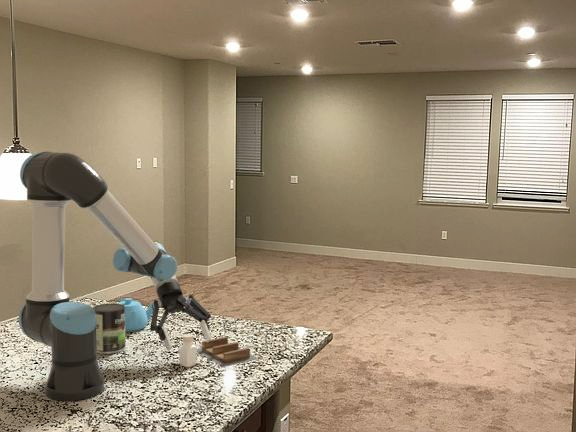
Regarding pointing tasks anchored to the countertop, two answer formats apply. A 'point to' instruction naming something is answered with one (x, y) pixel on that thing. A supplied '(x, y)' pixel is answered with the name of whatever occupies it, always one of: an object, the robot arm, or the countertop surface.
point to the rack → (225, 350)
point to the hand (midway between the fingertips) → (190, 344)
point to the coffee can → (110, 328)
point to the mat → (223, 362)
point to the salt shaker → (188, 351)
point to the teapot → (135, 315)
